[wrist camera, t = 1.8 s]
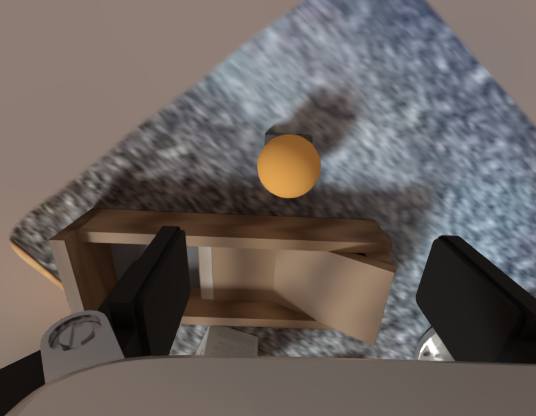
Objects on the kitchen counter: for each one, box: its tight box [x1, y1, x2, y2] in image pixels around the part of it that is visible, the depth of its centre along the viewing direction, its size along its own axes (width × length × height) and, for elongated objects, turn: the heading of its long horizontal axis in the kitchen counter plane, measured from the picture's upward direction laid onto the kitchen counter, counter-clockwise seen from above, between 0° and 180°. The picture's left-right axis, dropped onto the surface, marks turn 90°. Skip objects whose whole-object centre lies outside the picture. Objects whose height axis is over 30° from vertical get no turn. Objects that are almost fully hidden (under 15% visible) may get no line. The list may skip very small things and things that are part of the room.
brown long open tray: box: [49, 209, 396, 346], centre depth 27 cm, size 28×10×7 cm, turn 87°
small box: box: [196, 325, 258, 356], centre depth 30 cm, size 8×6×13 cm
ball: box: [257, 134, 321, 198], centre depth 23 cm, size 5×5×5 cm
